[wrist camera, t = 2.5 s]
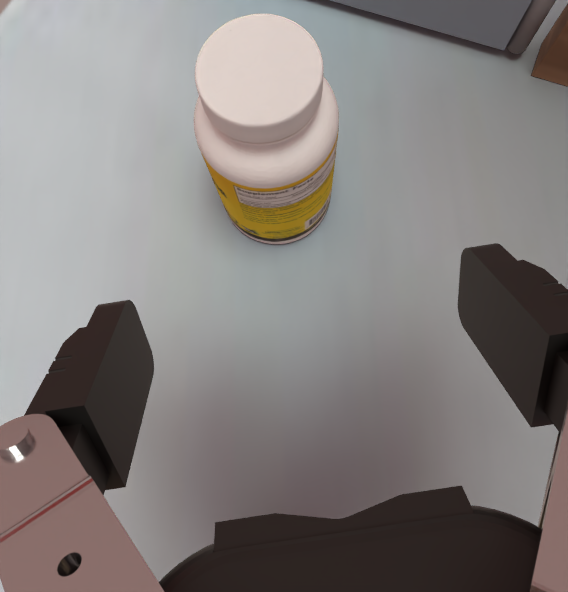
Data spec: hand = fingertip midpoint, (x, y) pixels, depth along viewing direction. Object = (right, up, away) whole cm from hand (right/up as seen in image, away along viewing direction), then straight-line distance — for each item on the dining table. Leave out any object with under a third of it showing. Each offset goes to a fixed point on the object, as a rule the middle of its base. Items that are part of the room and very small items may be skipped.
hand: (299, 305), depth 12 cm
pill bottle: (-1, +6, +16) cm, 17 cm away
